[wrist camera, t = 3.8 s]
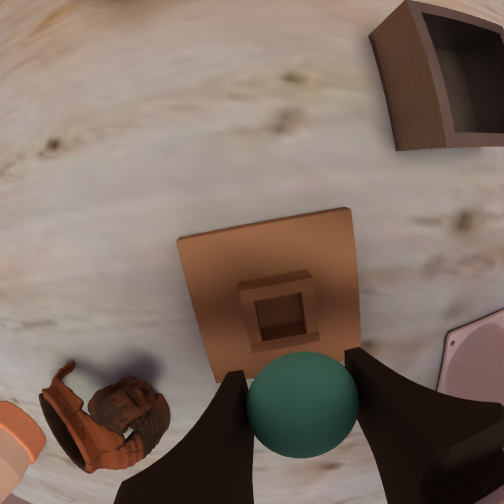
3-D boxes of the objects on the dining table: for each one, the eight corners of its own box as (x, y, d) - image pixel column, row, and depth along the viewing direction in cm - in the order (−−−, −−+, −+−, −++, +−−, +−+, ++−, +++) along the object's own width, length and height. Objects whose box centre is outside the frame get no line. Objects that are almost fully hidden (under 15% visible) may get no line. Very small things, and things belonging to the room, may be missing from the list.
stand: (356, 348, 20) (367, 368, 18) (217, 374, 20) (214, 396, 18) (345, 207, 18) (360, 212, 15) (179, 237, 18) (170, 247, 15)
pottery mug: (153, 447, 23) (89, 489, 16) (96, 370, 26) (28, 398, 19) (218, 409, 18) (129, 479, 11) (137, 302, 21) (35, 333, 14)
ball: (343, 396, 12) (369, 462, 8) (255, 413, 12) (258, 485, 8) (340, 321, 11) (378, 385, 7) (236, 341, 11) (232, 415, 7)
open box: (481, 146, 17) (533, 146, 11) (396, 151, 17) (446, 147, 11) (457, 46, 15) (502, 26, 9) (368, 35, 15) (405, -1, 9)
